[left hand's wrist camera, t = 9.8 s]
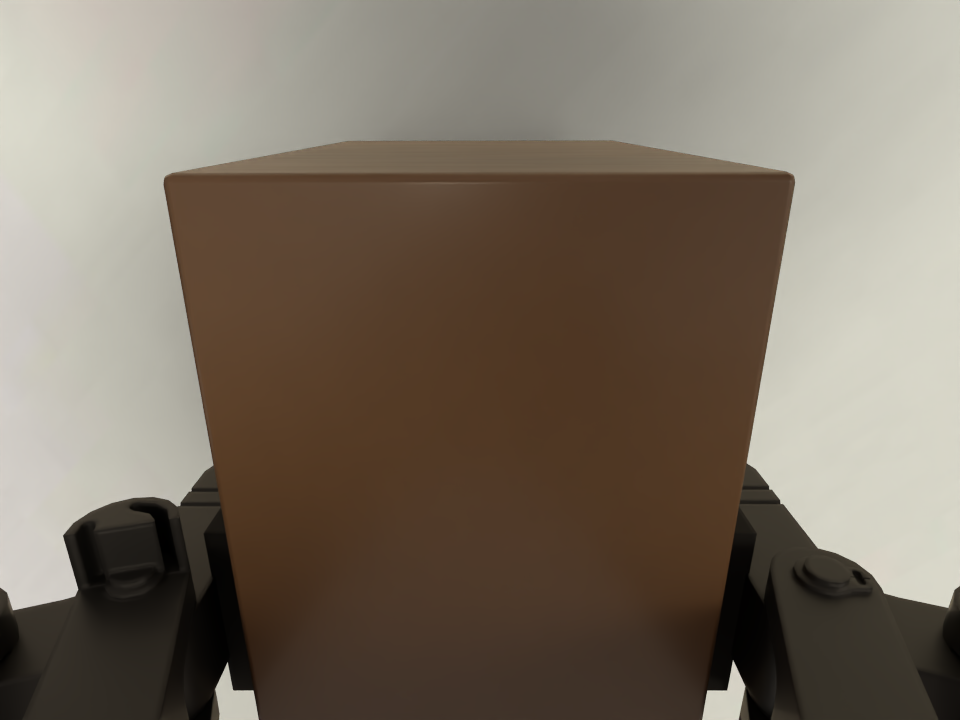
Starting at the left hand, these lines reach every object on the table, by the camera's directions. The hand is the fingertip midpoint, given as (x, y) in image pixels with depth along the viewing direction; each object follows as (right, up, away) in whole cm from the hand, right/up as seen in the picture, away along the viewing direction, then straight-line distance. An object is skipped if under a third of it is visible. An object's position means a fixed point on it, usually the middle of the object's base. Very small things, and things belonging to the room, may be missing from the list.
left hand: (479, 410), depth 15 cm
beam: (0, -18, +8) cm, 19 cm away
